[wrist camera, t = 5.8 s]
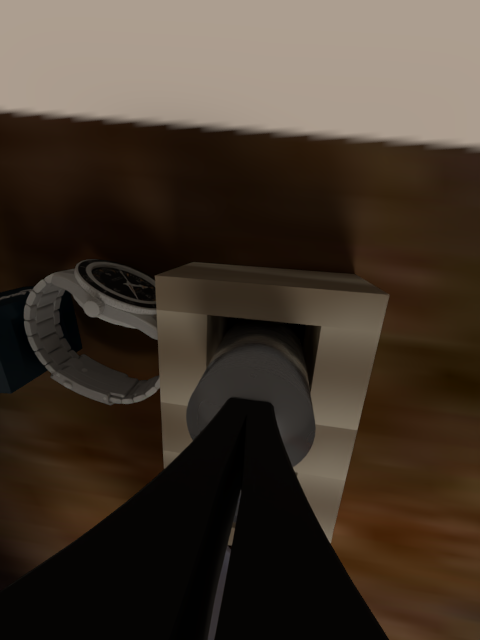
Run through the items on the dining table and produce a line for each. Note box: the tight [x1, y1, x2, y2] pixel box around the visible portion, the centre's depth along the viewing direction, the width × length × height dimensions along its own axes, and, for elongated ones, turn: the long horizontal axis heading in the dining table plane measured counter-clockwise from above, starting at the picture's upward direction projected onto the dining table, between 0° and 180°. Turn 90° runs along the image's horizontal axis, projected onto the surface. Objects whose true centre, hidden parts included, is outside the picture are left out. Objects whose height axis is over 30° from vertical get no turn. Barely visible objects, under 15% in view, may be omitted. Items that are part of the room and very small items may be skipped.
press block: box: [155, 262, 389, 546], centre depth 15 cm, size 15×9×5 cm, turn 177°
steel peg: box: [186, 319, 316, 467], centre depth 11 cm, size 4×4×5 cm
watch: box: [0, 259, 160, 405], centre depth 15 cm, size 6×8×11 cm
